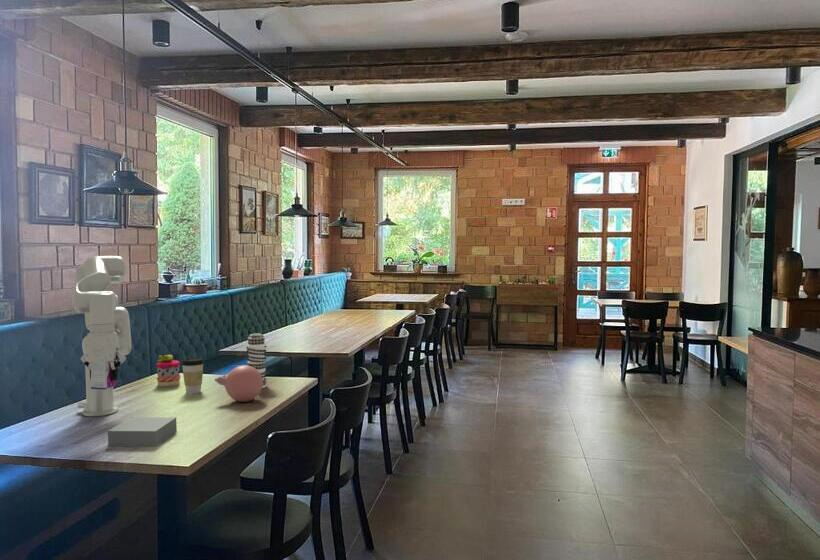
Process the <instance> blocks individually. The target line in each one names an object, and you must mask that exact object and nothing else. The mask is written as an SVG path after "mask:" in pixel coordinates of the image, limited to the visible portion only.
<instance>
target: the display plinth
mask: <svg viewBox="0 0 820 560" xmlns="http://www.w3.org/2000/svg"><path fill="white" fill-rule="evenodd" d="M177 432H178V429H177V417H175V416H173V417H158V416H157V417H155V416H154V417H153V416H151V417H149V416H148V417H147V416H146V417H144V416H143V417H142V416H141V417H139V416H138V417H137V416H136V417H135V416H134V417H132V416H131V417H129V418H128V419H126V420H125V421H123V422H121V423H120V424H118V425H116V426H114V427H112V428H110V429H108V430H107V445H108V446H107V447H157V446H158V445H160V444H161V443H162V442H165V440H167V439H168V438H170V436H172V435H174V434H175V433H177Z"/></svg>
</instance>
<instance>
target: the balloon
mask: <svg viewBox="0 0 820 560" xmlns="http://www.w3.org/2000/svg"><path fill="white" fill-rule="evenodd" d="M214 382H216V383H217V384H219V385H220V386H224V388H225V391H226V393H227V394H228V396H229V397H230V398H231V399H232V400H234V401H236V402H240V403H245V402H251V401H252V400H254V399H256V398H257V397H258V396H259V394H260V393H261V392H262V389H263V388H262V385H263V381H262V377H261V374H260V373H259V371H258V370H257V369H255V368H254V367H251V366H249V364H248V365H247V364H246V365H239V366H236V367H234V368H233V369H231V370H230V372H228V373H227V374H224V375H223V376H218V377H217V378H215V379H214Z"/></svg>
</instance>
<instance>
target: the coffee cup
mask: <svg viewBox="0 0 820 560" xmlns="http://www.w3.org/2000/svg"><path fill="white" fill-rule="evenodd" d="M204 364H205V361H204V358H201V357H191V358H184V359H182V362H181V363H180V366H181V365H182V366H181V367H182V375H183V382H184V387H185V393H186V394H187V395H188V394H189V395H194V394H199V393H201V390H202V383H203V374H204V369H203V368H204Z"/></svg>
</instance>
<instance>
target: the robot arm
mask: <svg viewBox="0 0 820 560" xmlns="http://www.w3.org/2000/svg"><path fill="white" fill-rule="evenodd" d="M126 274H127V265H126V261H125V260H124V258H123V257H121V256H119V255H94V256H90V257H88V258H87V259H86V260H85V261H84V263H83V264H81V265H79V266H77V267H76V268H75V280H76V283H75V284H74V286H73V288H72V292H71V293H72V295H71V297H72V298H71V301H72V302H71V303H72V308H73V310H74V311H75V313H78V314H84V324H85V327H86V329H87V330H89V332H87V334H86V336H84V338H83V339H82V342H81V347H82V348H81V349H82V353H83V355H82V356H81V357H80V359H79V360H80V361H82V363H84V366H85V368H84V369H85V370H84V371H85V390H86V391H85V392H86V395H85V396H86V401H79V402H78V403H77V409H82V408H83V410H82V412H81V413H82V415H83V416H85V417H102V416H109V415H112V414H114V413H116V412H118V411H119V407H118V406H116V405H114V387H111V388H107V389H105V390H102V389H91V362H98V358H99V357H101V356H104V357H106V362H109V364H110V366H111V368H112V369H111V370H110V381H114V380H116V381H117V380H118V378H119V372H118V370H119V368H120V367H121V365H123V363H124V362H125V361H126V359H127V355H129V354H130V353H131V351H132V336H131V335H132V334H131V333H132V332H131V321H130V320H131V319H130V314H129V311H128V309H127V308H126V307H123V306H119V296H118V295H117V294H116V292H114V291H111V290H107V289H108V288H109V287H110V286H111V285H119V284H122V283H123V282H124V281H125V278H126Z"/></svg>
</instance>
